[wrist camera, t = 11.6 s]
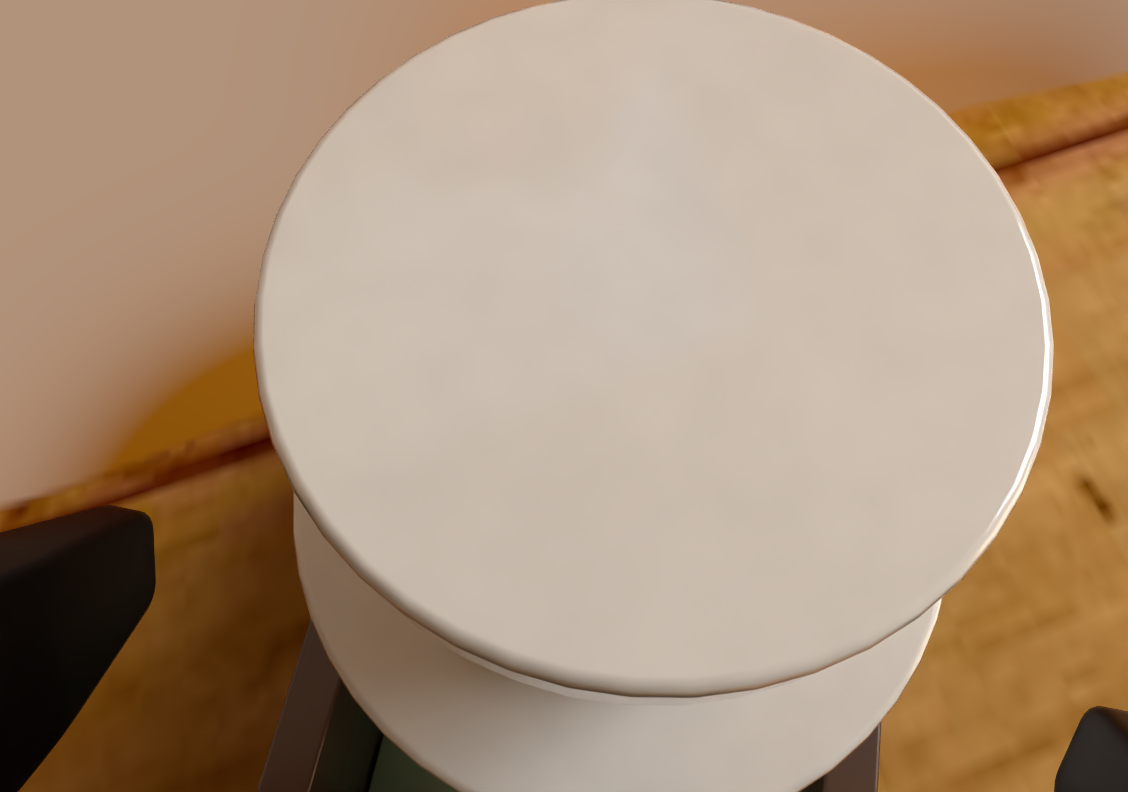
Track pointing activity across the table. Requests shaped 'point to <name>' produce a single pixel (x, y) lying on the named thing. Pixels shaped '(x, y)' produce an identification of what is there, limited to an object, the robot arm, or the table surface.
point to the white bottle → (644, 394)
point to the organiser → (385, 773)
